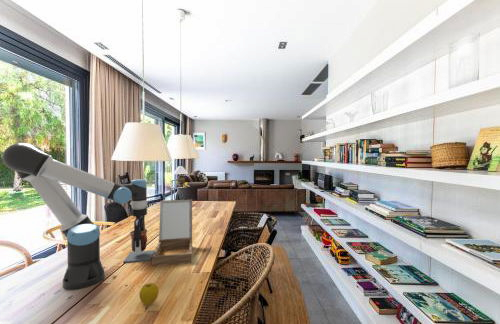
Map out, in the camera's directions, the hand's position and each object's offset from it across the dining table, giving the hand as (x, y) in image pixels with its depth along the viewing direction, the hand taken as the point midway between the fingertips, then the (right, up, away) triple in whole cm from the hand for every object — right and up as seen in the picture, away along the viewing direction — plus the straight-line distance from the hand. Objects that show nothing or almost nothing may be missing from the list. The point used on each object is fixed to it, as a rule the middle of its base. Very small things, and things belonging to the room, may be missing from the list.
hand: (140, 249), depth 132 cm
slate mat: (0, -4, 0) cm, 4 cm away
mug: (+1, -1, -1) cm, 1 cm away
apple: (+23, -5, -43) cm, 49 cm away
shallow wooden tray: (+18, -4, +2) cm, 19 cm away
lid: (+14, +13, +17) cm, 26 cm away
